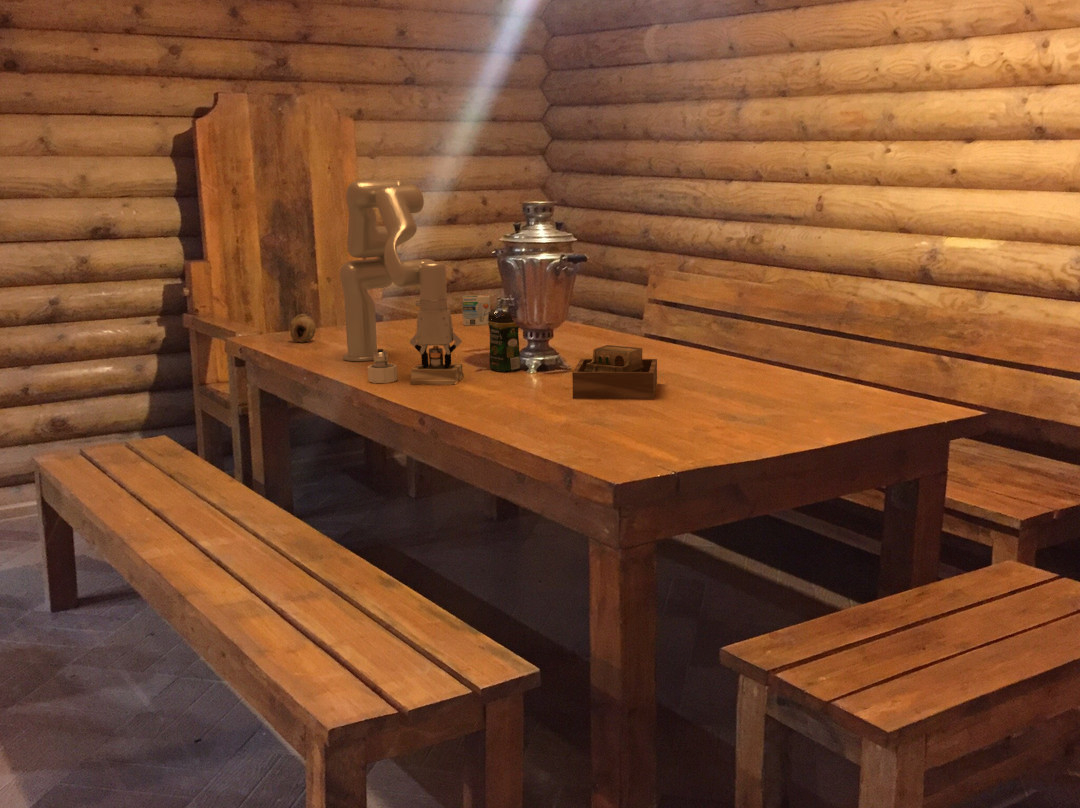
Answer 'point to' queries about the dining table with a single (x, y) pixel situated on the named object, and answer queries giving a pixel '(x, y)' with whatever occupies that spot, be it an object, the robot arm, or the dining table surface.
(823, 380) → the dining table surface
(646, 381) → the open brown storage box
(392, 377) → the beige piece
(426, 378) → the tray
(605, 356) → the miniature house
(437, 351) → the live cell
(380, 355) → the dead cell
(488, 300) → the light bulb box
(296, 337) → the tan rounded piece
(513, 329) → the coffee jar
